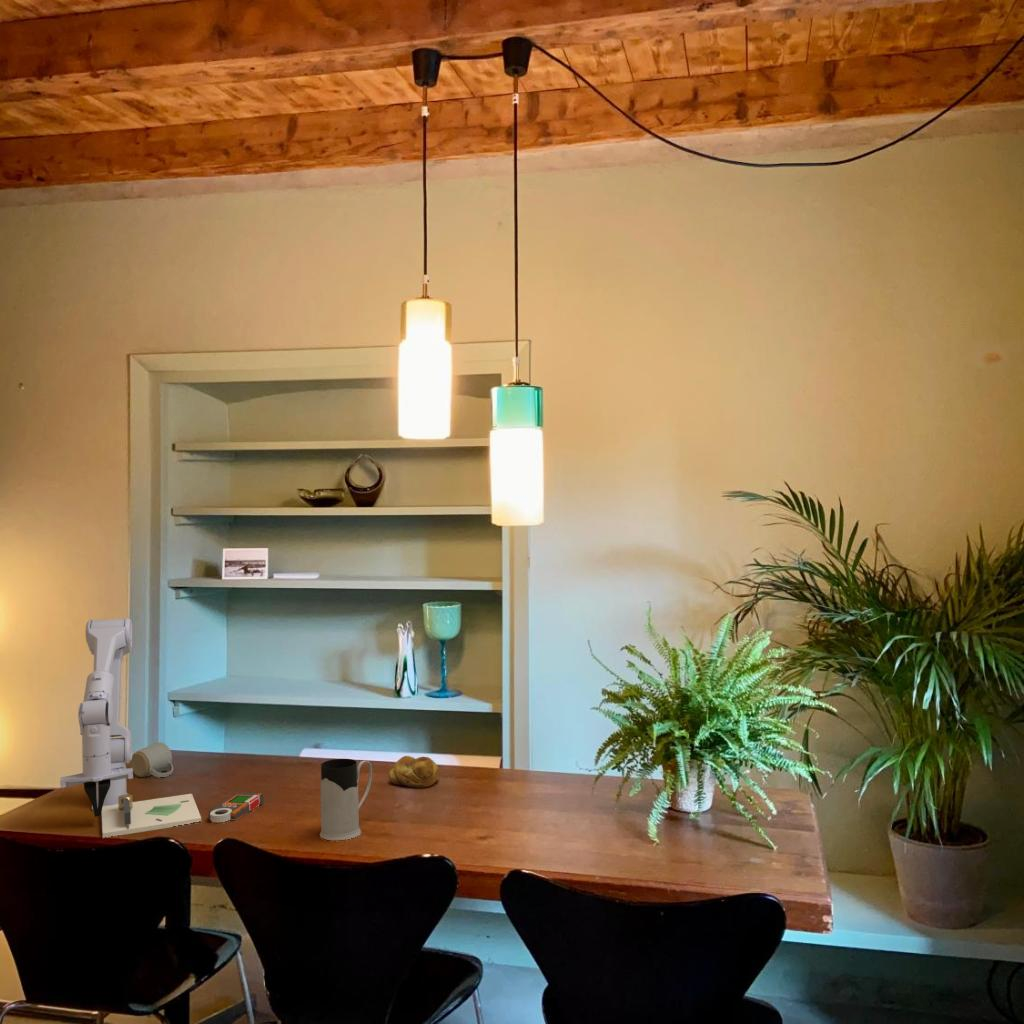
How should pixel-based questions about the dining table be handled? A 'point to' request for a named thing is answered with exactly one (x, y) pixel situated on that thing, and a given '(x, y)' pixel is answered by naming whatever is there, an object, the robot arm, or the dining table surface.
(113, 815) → the dial plate
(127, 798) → the grey metal bar
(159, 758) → the ceramic mug
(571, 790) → the dining table surface
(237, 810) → the electronic device
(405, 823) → the dining table surface
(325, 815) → the tall beer stein
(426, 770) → the bread roll
